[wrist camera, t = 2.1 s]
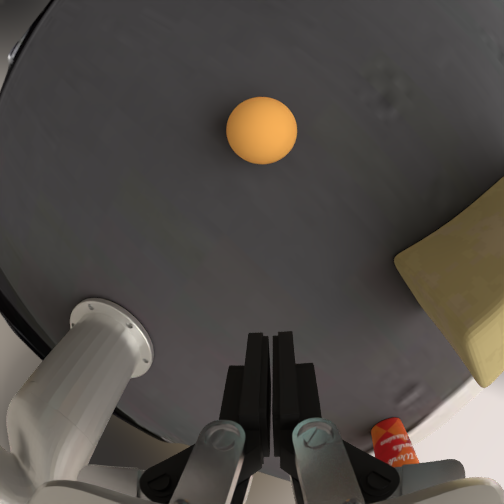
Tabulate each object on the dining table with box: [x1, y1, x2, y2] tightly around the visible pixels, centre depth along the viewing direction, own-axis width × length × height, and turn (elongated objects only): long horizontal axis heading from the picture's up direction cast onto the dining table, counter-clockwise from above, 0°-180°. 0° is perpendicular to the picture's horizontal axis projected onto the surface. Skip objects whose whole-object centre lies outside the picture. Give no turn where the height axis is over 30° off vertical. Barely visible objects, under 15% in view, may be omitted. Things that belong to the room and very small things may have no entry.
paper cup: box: [371, 417, 419, 467], centre depth 30 cm, size 8×8×14 cm
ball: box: [226, 97, 297, 164], centre depth 21 cm, size 6×6×6 cm
